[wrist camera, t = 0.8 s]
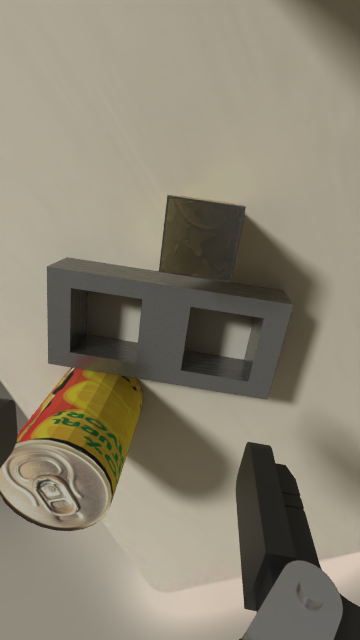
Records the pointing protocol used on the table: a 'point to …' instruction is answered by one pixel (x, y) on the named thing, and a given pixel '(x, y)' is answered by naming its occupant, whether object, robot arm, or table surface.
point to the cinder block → (164, 327)
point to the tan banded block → (200, 238)
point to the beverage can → (73, 451)
